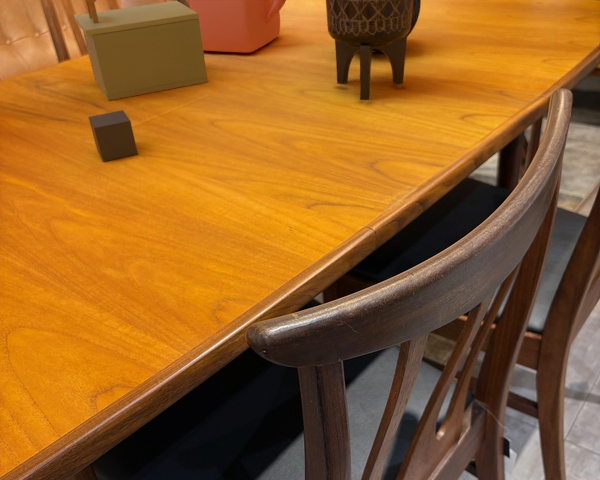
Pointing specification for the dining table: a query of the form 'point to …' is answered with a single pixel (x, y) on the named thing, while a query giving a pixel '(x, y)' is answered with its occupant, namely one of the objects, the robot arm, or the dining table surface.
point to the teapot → (237, 23)
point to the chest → (147, 59)
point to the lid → (132, 17)
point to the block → (113, 135)
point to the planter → (369, 35)
